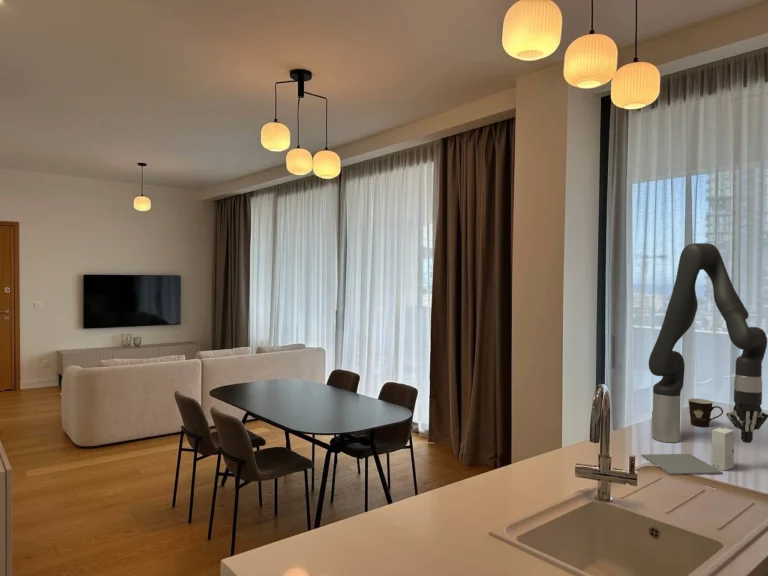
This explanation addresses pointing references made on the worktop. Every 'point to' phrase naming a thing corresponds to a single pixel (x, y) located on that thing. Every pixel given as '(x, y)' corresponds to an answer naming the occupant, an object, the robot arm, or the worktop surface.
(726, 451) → the skincare box
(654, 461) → the mat
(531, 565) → the worktop surface
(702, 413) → the coffee mug
